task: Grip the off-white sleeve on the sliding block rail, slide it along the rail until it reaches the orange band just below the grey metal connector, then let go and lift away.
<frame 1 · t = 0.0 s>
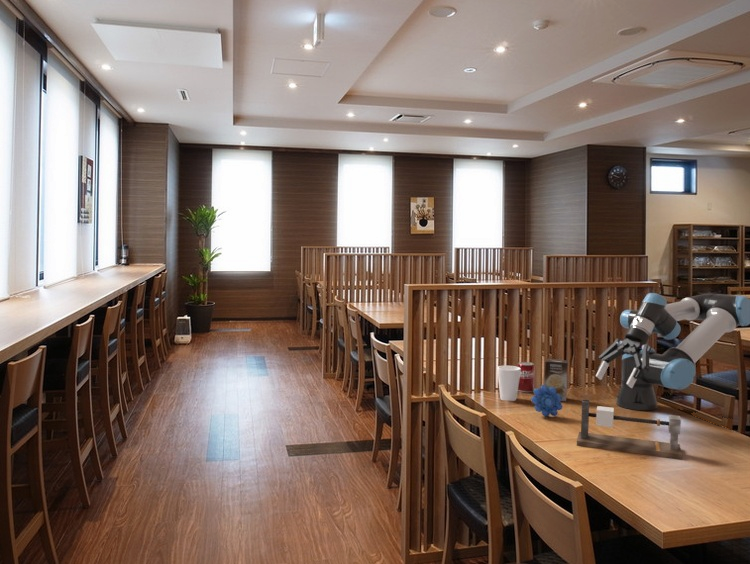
hand: (613, 381, 214), 15 cm above the table, tool tilted 35°, fingers open, 13 cm apart
sliding block rail: (627, 447, 191), on the table
blue knobbed wheel: (547, 417, 223), on the table
foam cup: (508, 399, 248), on the table
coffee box: (555, 399, 249), on the table
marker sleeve: (605, 416, 193), point 9 cm above the table, slide at 0.0 cm
soda can: (525, 391, 263), on the table
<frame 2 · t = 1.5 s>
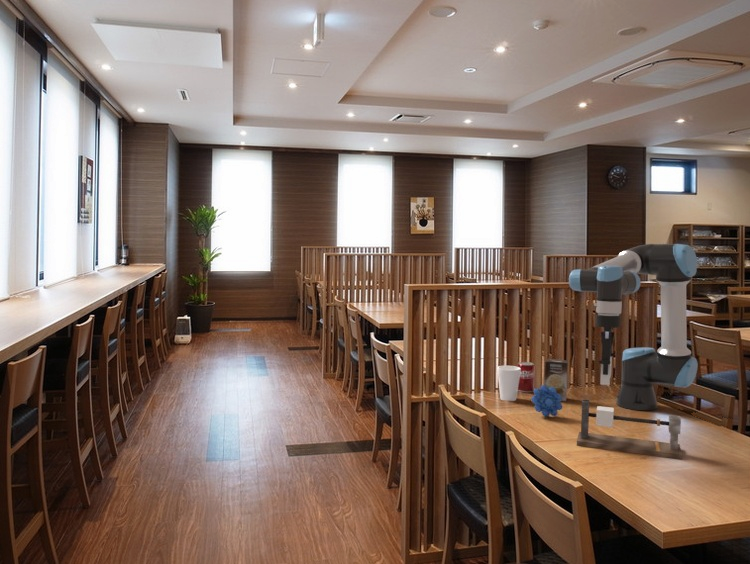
hand: (605, 380, 192), 21 cm above the table, tool pointing down, fingers open, 13 cm apart
nothing on the table moved.
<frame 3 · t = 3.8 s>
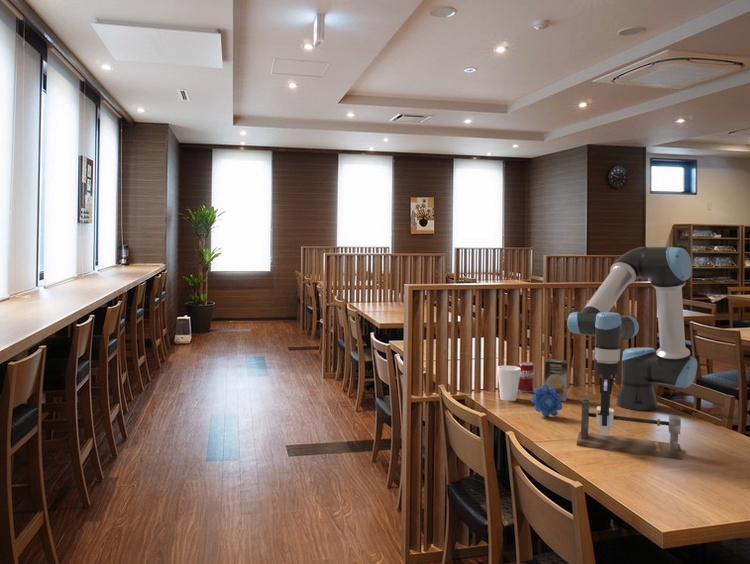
hand: (604, 432, 193), 4 cm above the table, tool pointing down, fingers closed on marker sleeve, 5 cm apart
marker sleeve: (605, 416, 193), point 9 cm above the table, slide at 0.0 cm, touching gripper
everything else where it was.
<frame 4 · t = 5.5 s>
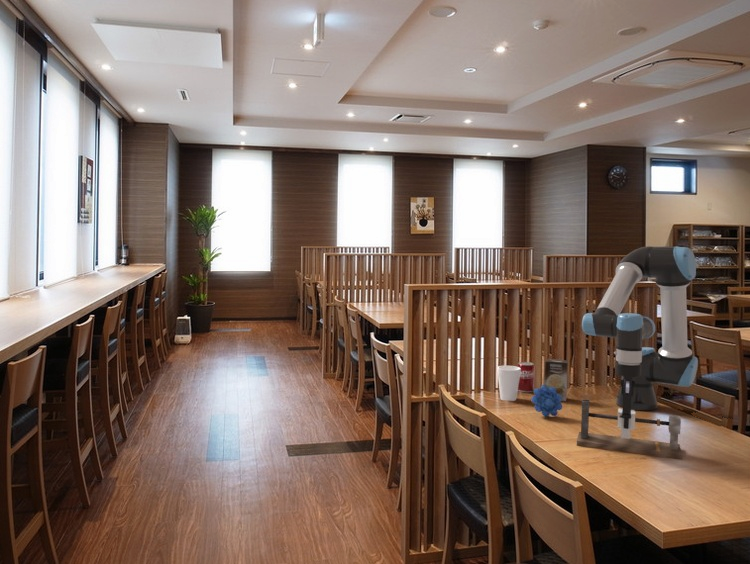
hand: (625, 435, 191), 4 cm above the table, tool pointing down, fingers closed on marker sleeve, 5 cm apart
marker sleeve: (626, 418, 190), point 9 cm above the table, slide at 6.3 cm, touching gripper
everything else where it was.
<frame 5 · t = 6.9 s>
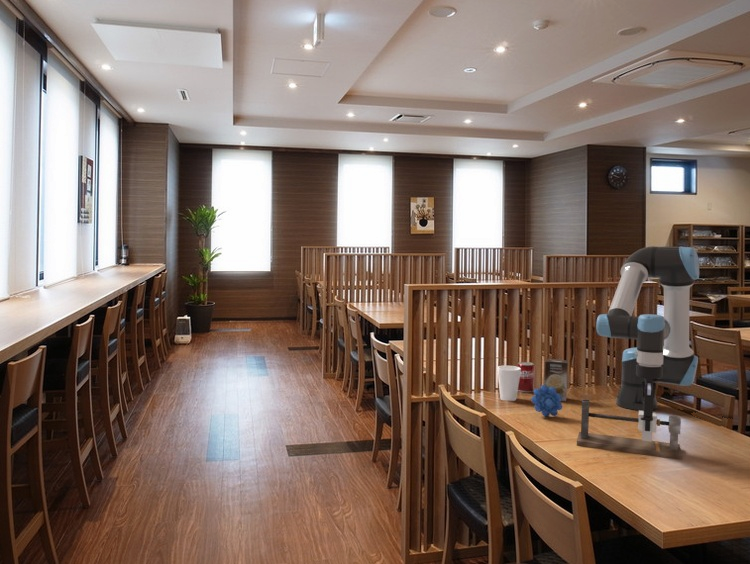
hand: (646, 437, 188), 4 cm above the table, tool pointing down, fingers closed on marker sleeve, 5 cm apart
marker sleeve: (647, 421, 188), point 9 cm above the table, slide at 12.4 cm, touching gripper
everything else where it was.
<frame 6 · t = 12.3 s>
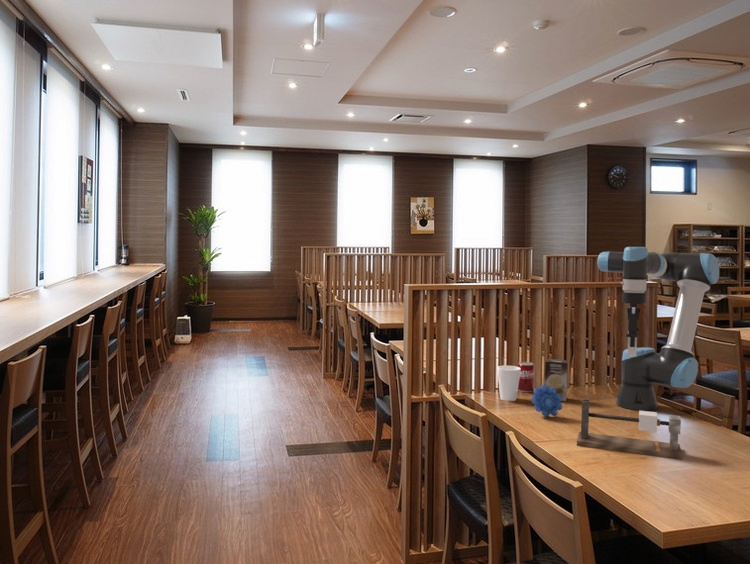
hand: (631, 353, 208), 27 cm above the table, tool pointing down, fingers open, 13 cm apart
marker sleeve: (647, 421, 188), point 9 cm above the table, slide at 12.5 cm
everything else where it was.
at the end: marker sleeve slide at 12.5 cm; the gripper is holding nothing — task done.
